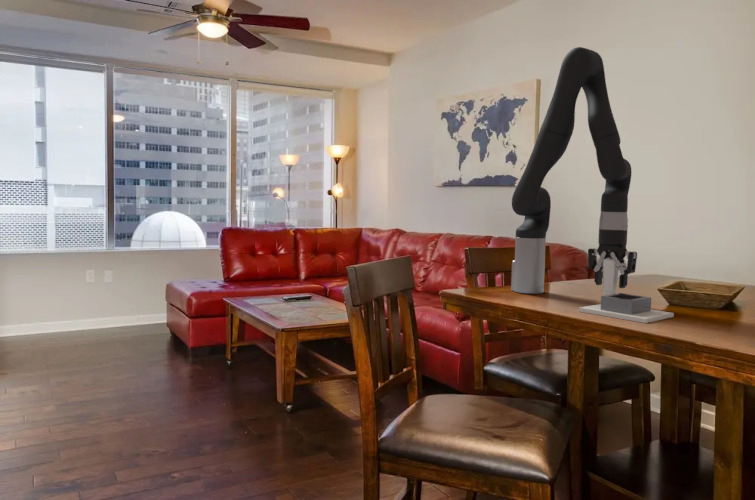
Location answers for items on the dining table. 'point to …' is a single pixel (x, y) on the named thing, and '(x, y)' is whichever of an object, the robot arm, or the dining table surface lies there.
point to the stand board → (639, 317)
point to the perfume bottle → (609, 277)
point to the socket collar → (626, 303)
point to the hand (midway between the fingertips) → (610, 286)
